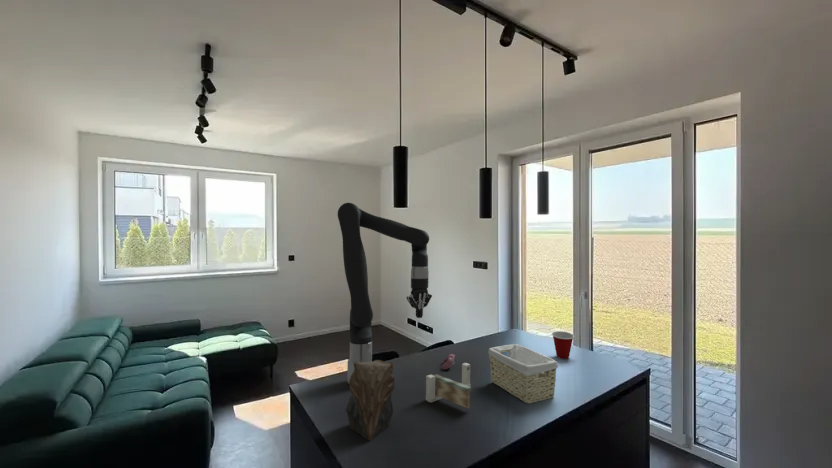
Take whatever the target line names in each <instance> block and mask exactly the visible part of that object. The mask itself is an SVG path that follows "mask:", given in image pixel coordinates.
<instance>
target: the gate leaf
mask: <svg viewBox="0 0 832 468" xmlns="http://www.w3.org/2000/svg"><path fill="white" fill-rule="evenodd" d="M432 375H433V376H435V395H436V396H439V397H442V399H444V400H447V401H449V402H452V403H454V404H456V405H459V406H461V407H464V408H466V409H470V407H471V404H470V403H471V401H470V400H471V391H472V386H471V387H470V386H467V385H464V384H461V383H462V382H459V381H455V380H453V379H450V378H449V377H444V376H442V375H440V374H432Z"/></svg>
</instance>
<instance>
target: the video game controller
mask: <svg viewBox="0 0 832 468" xmlns="http://www.w3.org/2000/svg"><path fill="white" fill-rule="evenodd" d="M455 358H456V355H455V354H453V353H449V354H448V355H447V357H445V358H444V359H443V360H442V361H443V364H442V365H441V366H440V367H441V368H440V369H441V370H444V371H445V370H448V369H450V368H451V367H452V366H454V365H455Z"/></svg>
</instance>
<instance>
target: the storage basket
mask: <svg viewBox="0 0 832 468" xmlns="http://www.w3.org/2000/svg"><path fill="white" fill-rule="evenodd" d="M507 352H509V356H507V355H504V354H503V353H507ZM487 354H488V355H489V367H490V377H491V378H490V379H491V382H492V383H493V384H495V385H496V386H498V387H500V388H501V389H502V390H504V391H506V392H508V393H509V394H510V395H512V396H513V397H515V398H518V399H519V400H521V401H522V402H523V403H525V404H533V403H536V402H540V401H541V402H542V401H545V400H550V399H552V398H555V397H554V396H555V388H556V383H557V382H556V381H557V379H556V377H557V375H556V374H557V369H558V361H556V360H555V359H553V358H551V357H549V356H546V355H544V354H543V353H540V352H538V351H535V350H533V349H531V348H528V347H526V346H523V345H521V344H517V343H512V344H504V345H499V346H494V347H490V348H488V353H487Z"/></svg>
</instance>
